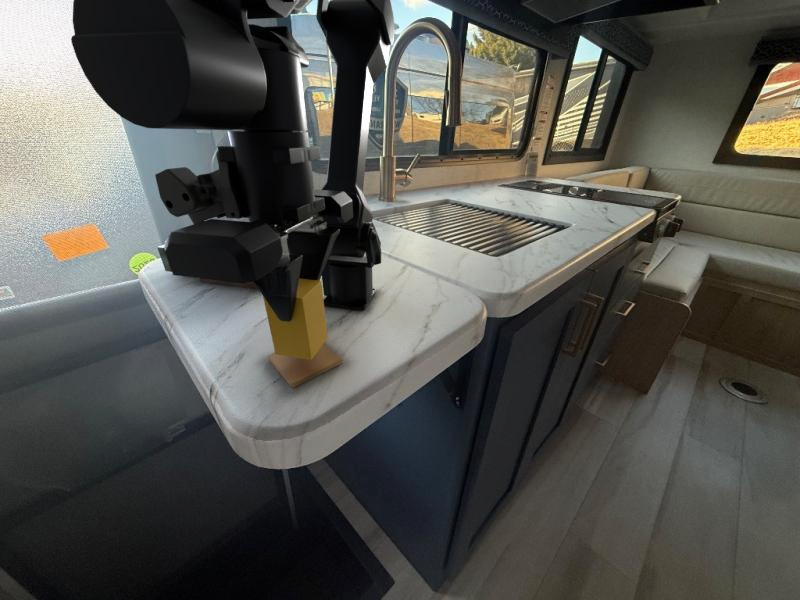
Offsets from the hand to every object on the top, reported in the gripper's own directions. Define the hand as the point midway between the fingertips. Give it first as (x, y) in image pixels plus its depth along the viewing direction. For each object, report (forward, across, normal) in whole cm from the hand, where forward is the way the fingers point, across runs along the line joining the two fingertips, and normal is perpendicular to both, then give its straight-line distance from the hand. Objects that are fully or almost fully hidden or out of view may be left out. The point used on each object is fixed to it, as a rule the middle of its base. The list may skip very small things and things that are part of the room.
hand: (297, 309), depth 31 cm
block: (+4, 0, 0) cm, 5 cm away
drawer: (+6, -20, -29) cm, 36 cm away
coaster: (+7, 0, 0) cm, 7 cm away
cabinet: (+7, -20, -20) cm, 29 cm away
